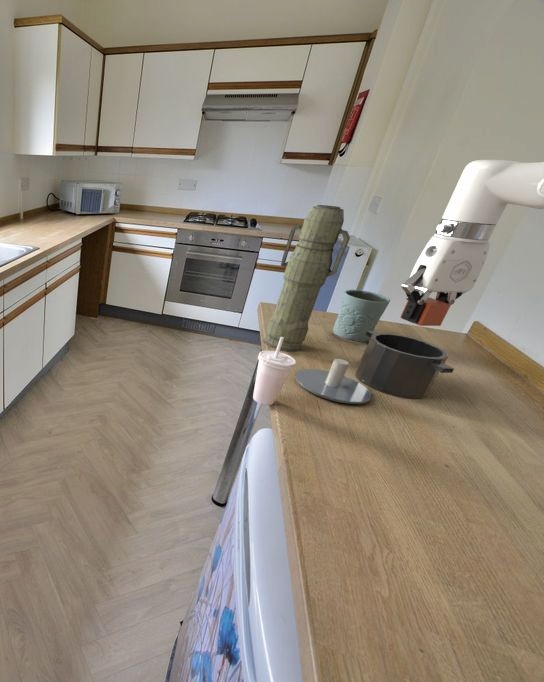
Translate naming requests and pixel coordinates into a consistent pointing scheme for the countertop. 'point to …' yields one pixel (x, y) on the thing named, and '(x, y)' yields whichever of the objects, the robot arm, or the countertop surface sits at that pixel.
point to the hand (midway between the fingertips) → (420, 320)
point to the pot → (401, 365)
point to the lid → (333, 384)
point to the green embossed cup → (359, 314)
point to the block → (432, 312)
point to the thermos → (306, 275)
